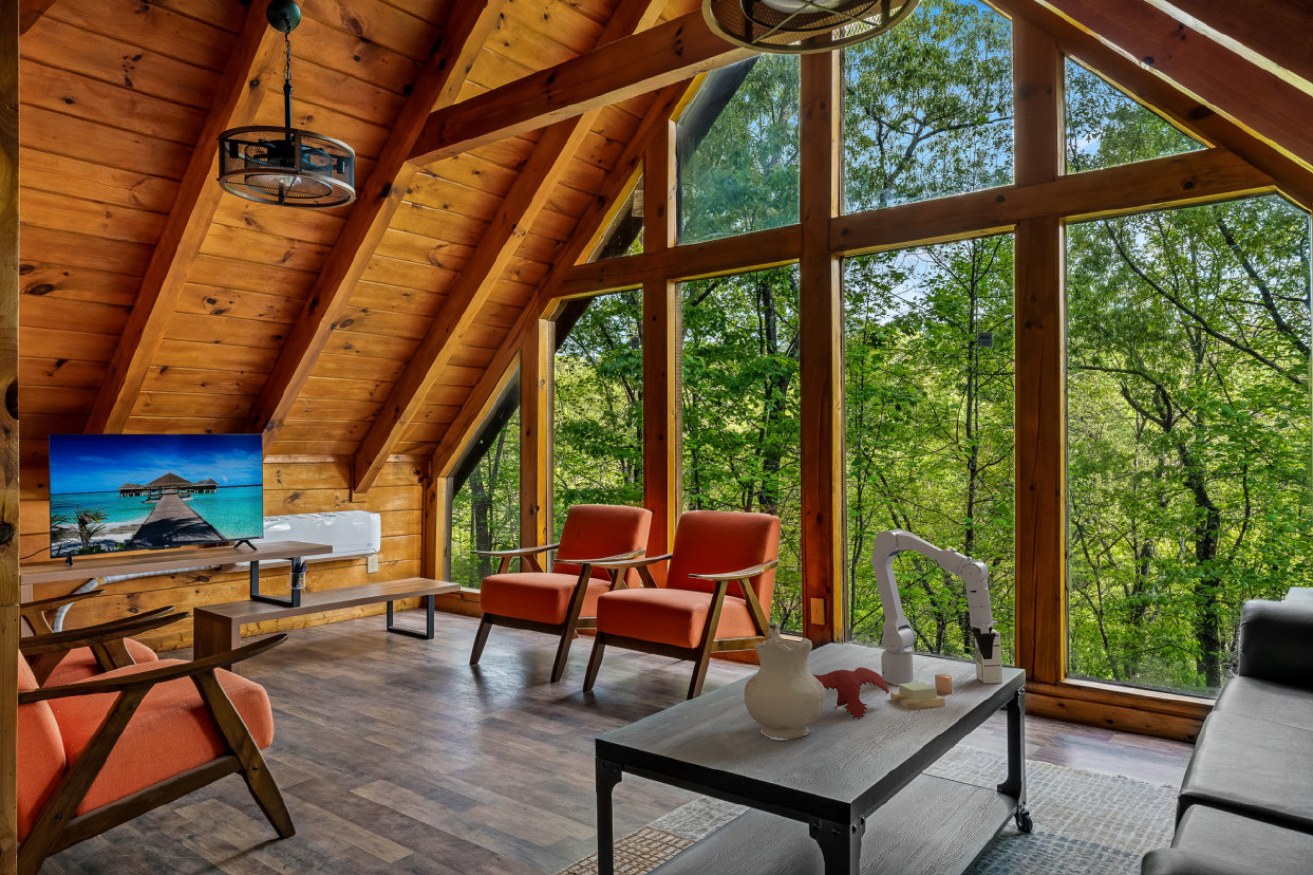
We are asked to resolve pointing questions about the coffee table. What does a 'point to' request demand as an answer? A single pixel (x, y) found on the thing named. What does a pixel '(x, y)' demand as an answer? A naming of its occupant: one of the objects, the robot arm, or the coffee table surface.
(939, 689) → the peach domed cylinder
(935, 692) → the sage slab
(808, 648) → the ceramic pitcher
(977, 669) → the syrup box
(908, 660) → the robot arm
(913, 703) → the maple slab
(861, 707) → the decorative bird sculpture
